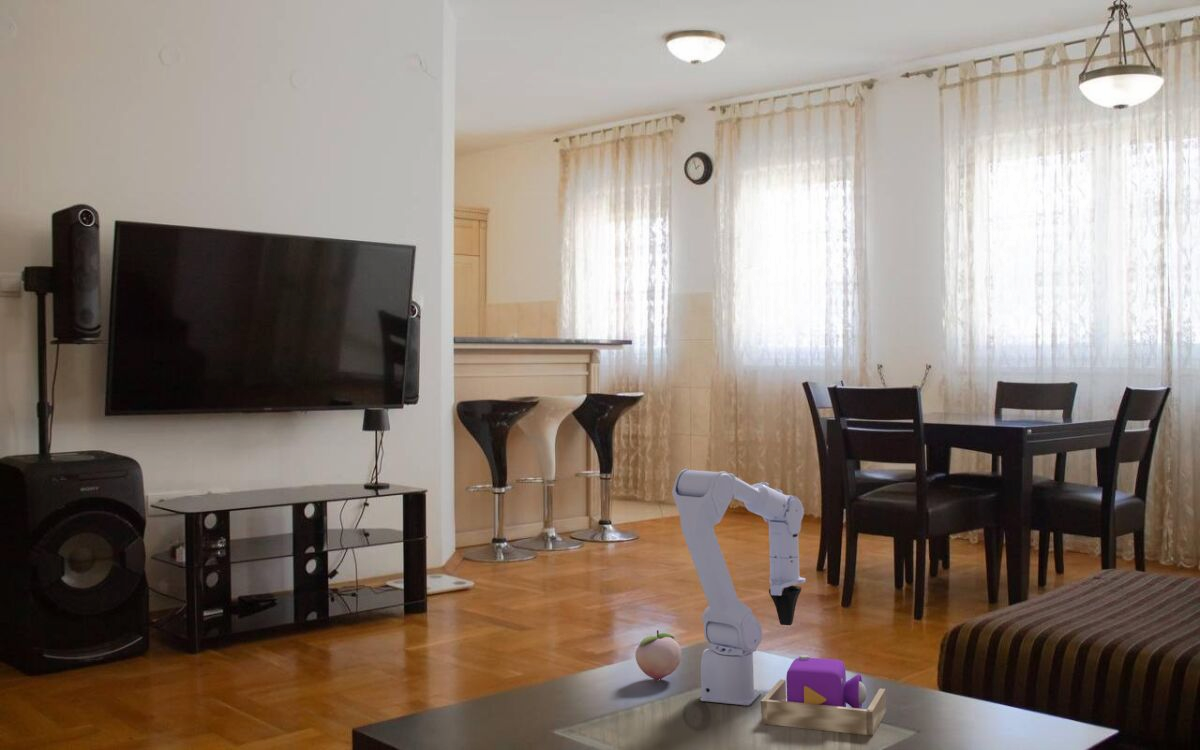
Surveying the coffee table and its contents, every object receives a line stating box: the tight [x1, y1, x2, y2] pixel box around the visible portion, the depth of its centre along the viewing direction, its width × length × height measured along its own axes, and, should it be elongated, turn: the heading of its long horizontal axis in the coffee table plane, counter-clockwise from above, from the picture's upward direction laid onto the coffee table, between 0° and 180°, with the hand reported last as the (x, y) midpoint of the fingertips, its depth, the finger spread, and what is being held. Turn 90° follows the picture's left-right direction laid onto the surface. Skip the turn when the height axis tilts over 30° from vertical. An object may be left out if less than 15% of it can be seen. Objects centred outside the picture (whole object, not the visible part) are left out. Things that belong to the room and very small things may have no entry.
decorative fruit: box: [634, 629, 682, 681], centre depth 220 cm, size 9×8×10 cm
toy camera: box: [785, 654, 867, 709], centre depth 195 cm, size 11×14×10 cm
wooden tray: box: [760, 679, 887, 736], centre depth 195 cm, size 19×13×4 cm
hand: (786, 624), depth 219 cm, fingers closed
